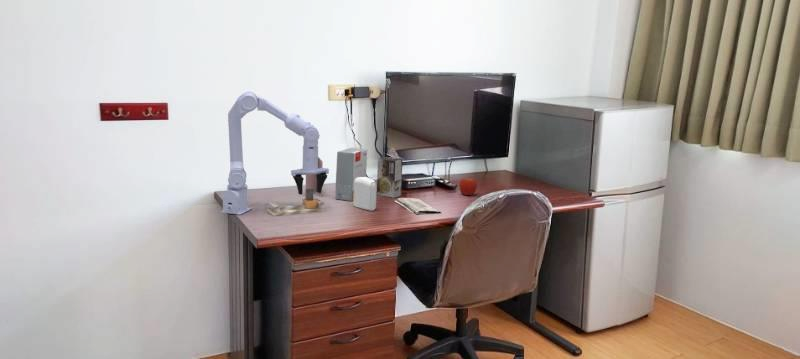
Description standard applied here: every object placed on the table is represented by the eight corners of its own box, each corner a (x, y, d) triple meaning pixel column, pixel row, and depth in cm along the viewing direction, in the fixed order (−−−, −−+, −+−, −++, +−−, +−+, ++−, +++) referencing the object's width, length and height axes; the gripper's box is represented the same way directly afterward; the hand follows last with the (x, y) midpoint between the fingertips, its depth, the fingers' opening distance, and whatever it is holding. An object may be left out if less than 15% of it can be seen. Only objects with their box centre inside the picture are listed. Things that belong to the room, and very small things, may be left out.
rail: (273, 216, 231) (273, 206, 230) (267, 211, 237) (267, 202, 236) (324, 211, 241) (324, 202, 241) (316, 207, 247) (316, 198, 247)
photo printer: (351, 206, 251) (352, 175, 249) (359, 204, 254) (360, 174, 252) (369, 211, 244) (370, 180, 242) (377, 209, 248) (378, 179, 245)
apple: (472, 192, 286) (473, 176, 285) (479, 197, 279) (480, 179, 277) (456, 193, 284) (457, 176, 283) (462, 197, 277) (463, 179, 275)
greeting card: (315, 190, 275) (316, 156, 272) (331, 192, 273) (332, 158, 270) (303, 196, 264) (304, 160, 261) (319, 198, 262) (320, 162, 259)
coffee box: (401, 195, 274) (403, 158, 271) (393, 198, 269) (395, 160, 265) (383, 192, 278) (385, 156, 275) (375, 194, 273) (377, 157, 270)
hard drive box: (351, 201, 259) (353, 153, 255) (334, 199, 261) (335, 151, 257) (365, 194, 273) (367, 148, 269) (349, 192, 276) (351, 146, 272)
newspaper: (392, 202, 263) (393, 196, 263) (419, 204, 267) (420, 198, 267) (412, 216, 242) (413, 210, 242) (441, 218, 247) (442, 212, 246)
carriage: (306, 208, 239) (307, 191, 237) (302, 206, 242) (302, 188, 241) (316, 207, 241) (317, 190, 240) (311, 205, 245) (312, 187, 243)
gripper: (296, 160, 231) (295, 197, 234) (332, 158, 238) (331, 194, 241) (289, 157, 237) (288, 193, 239) (324, 155, 244) (324, 190, 247)
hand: (309, 193), depth 241 cm, fingers open, 7 cm apart
